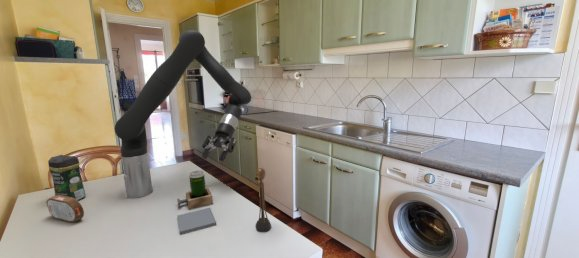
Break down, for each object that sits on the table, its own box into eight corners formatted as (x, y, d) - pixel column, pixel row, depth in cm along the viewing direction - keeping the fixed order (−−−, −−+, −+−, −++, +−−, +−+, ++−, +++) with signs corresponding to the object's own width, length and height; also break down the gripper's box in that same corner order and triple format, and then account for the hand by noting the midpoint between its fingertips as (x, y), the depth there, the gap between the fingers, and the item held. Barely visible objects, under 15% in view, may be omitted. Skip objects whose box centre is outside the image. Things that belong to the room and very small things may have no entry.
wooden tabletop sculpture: (266, 235, 79) (263, 172, 75) (252, 233, 80) (248, 171, 76) (272, 224, 84) (270, 165, 80) (259, 222, 86) (256, 164, 82)
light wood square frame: (179, 212, 94) (178, 203, 93) (177, 202, 102) (176, 193, 101) (213, 204, 99) (212, 195, 99) (209, 195, 107) (208, 187, 106)
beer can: (209, 202, 101) (206, 173, 98) (195, 207, 97) (191, 176, 95) (203, 197, 105) (200, 169, 102) (190, 201, 101) (187, 172, 99)
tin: (86, 220, 90) (82, 197, 88) (76, 225, 87) (71, 202, 86) (58, 214, 95) (53, 192, 93) (47, 218, 92) (42, 196, 90)
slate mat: (180, 234, 80) (179, 231, 80) (177, 218, 90) (177, 215, 90) (216, 224, 85) (216, 222, 85) (210, 210, 95) (210, 207, 95)
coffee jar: (52, 202, 104) (42, 157, 101) (73, 193, 112) (65, 152, 108) (68, 205, 101) (59, 159, 98) (89, 196, 109) (81, 153, 105)
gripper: (209, 121, 115) (193, 153, 107) (237, 122, 109) (222, 156, 101) (218, 130, 120) (203, 161, 112) (244, 132, 115) (231, 165, 107)
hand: (212, 159), depth 107 cm, fingers open, 8 cm apart
